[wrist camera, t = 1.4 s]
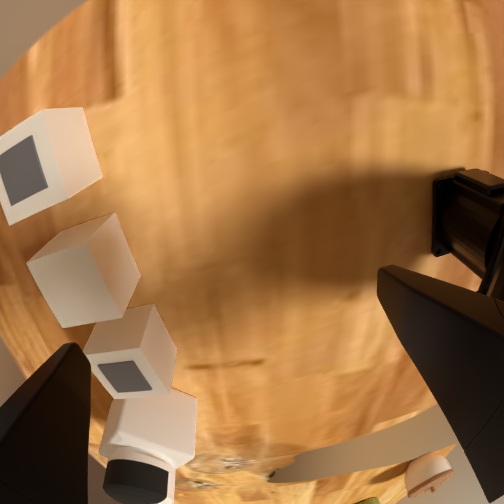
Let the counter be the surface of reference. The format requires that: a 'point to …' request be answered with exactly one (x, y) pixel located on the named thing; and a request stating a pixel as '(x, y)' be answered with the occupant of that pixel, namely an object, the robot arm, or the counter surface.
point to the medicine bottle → (148, 446)
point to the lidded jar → (426, 474)
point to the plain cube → (86, 272)
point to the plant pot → (370, 501)
